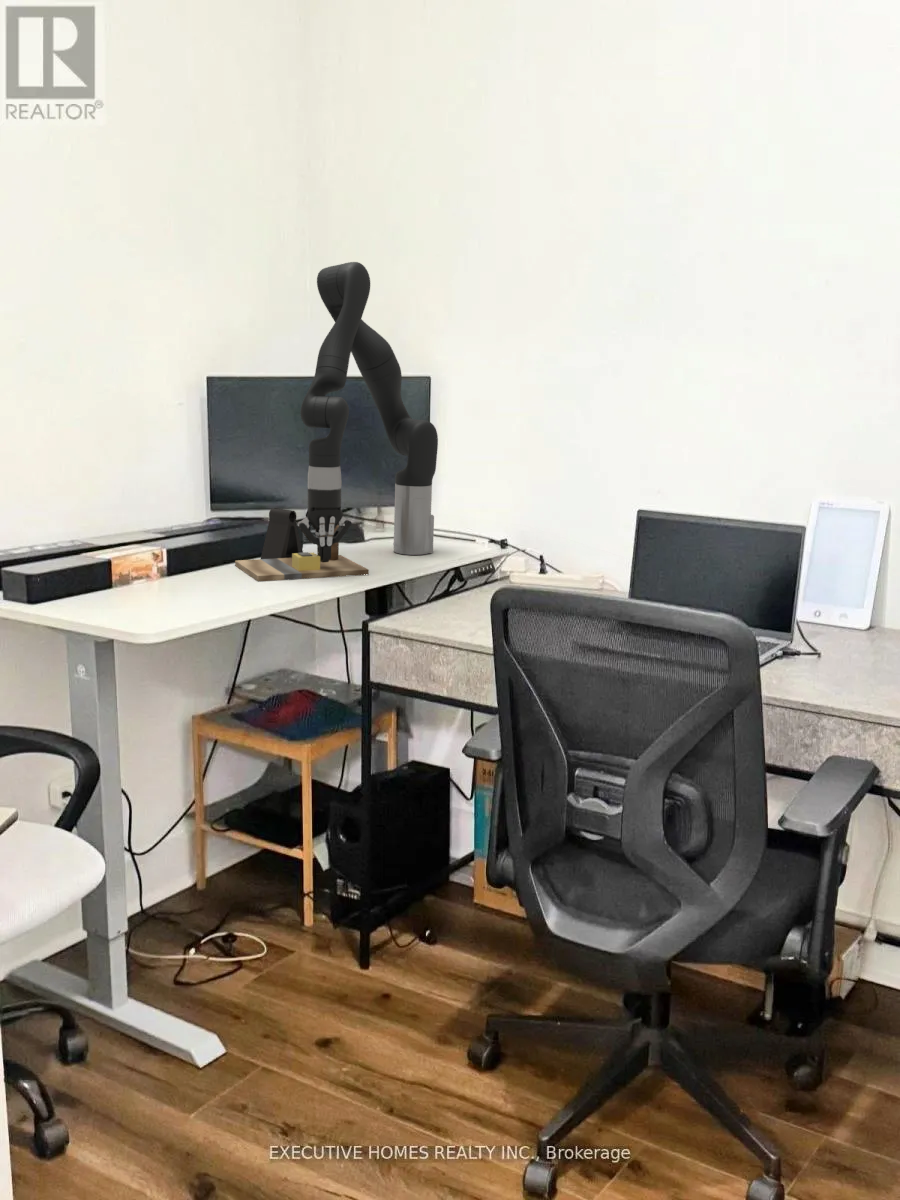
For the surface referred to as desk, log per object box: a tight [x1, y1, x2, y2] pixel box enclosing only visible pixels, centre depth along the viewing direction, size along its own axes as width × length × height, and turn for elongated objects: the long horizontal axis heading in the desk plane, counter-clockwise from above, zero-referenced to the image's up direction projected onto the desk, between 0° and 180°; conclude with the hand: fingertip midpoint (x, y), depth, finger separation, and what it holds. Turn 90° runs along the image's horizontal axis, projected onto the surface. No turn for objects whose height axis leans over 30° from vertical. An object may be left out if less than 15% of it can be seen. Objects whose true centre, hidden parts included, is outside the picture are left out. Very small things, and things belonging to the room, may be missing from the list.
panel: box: [234, 554, 370, 582], centre depth 268 cm, size 26×18×1 cm
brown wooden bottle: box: [329, 524, 340, 560], centre depth 275 cm, size 4×4×10 cm
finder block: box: [292, 551, 320, 571], centre depth 264 cm, size 5×5×3 cm
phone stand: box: [260, 507, 304, 559], centre depth 279 cm, size 9×6×12 cm, turn 148°
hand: (324, 561), depth 266 cm, fingers closed
